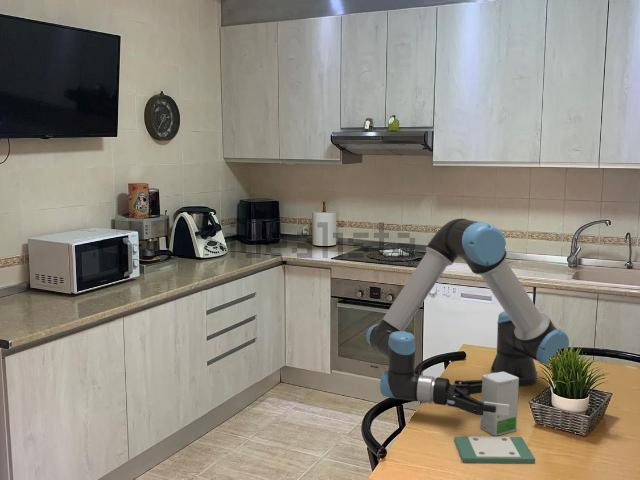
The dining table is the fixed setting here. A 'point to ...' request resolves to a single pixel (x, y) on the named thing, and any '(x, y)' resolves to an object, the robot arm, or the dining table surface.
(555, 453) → the dining table surface
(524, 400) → the dining table surface
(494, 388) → the skincare box
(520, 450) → the board
